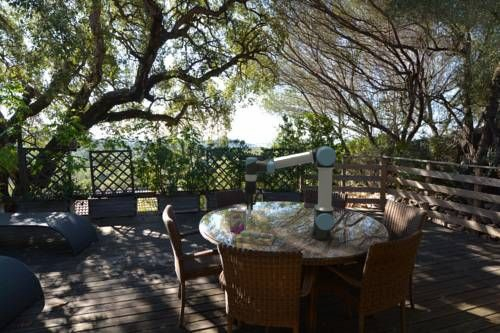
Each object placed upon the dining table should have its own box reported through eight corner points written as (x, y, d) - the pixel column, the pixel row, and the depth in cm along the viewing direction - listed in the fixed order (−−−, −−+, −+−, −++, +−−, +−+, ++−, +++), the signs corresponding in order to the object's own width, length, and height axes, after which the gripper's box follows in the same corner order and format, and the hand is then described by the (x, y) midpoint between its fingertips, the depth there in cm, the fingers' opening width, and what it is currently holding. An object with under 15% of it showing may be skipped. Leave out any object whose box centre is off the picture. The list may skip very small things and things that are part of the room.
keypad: (274, 238, 217) (275, 234, 217) (270, 245, 204) (270, 240, 203) (241, 235, 223) (241, 230, 223) (235, 241, 210) (235, 237, 210)
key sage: (250, 234, 217) (250, 231, 217) (248, 237, 212) (248, 233, 211) (243, 234, 218) (243, 230, 218) (241, 236, 213) (241, 232, 213)
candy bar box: (229, 231, 231) (230, 210, 229) (232, 229, 236) (232, 208, 234) (244, 233, 227) (244, 211, 225) (246, 231, 232) (246, 209, 230)
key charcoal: (270, 239, 213) (270, 235, 213) (268, 241, 208) (268, 237, 208) (262, 238, 215) (262, 234, 215) (260, 241, 210) (261, 236, 209)
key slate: (260, 235, 215) (260, 231, 215) (258, 238, 210) (258, 234, 210) (252, 235, 217) (253, 231, 216) (250, 237, 211) (250, 233, 211)
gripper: (239, 180, 208) (238, 215, 211) (258, 181, 205) (257, 217, 207) (243, 179, 215) (242, 212, 218) (261, 180, 212) (260, 214, 215)
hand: (249, 214), depth 213 cm, fingers closed
